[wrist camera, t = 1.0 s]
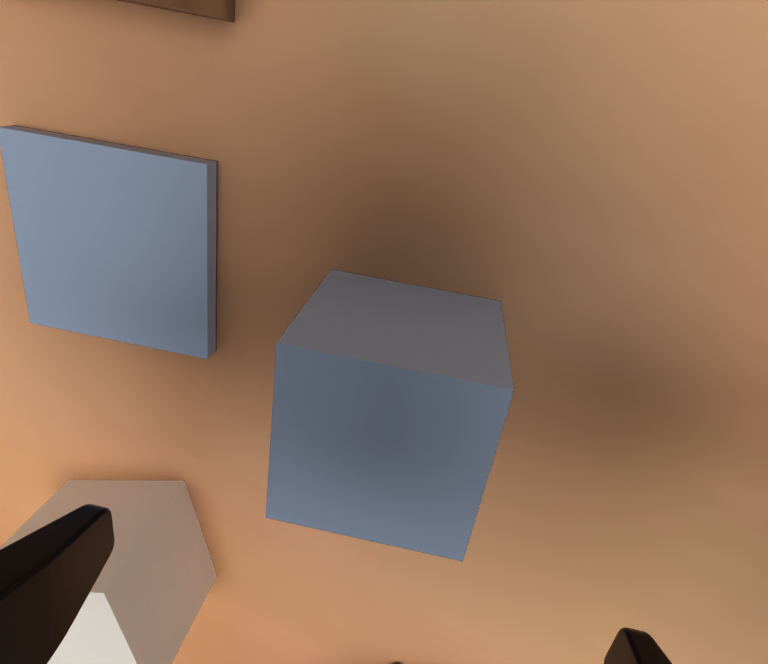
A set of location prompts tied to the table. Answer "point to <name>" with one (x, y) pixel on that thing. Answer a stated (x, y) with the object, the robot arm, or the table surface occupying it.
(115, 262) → the tile
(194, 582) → the cream cube
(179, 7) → the walnut block
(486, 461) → the blue cube
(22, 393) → the table surface
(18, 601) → the robot arm
